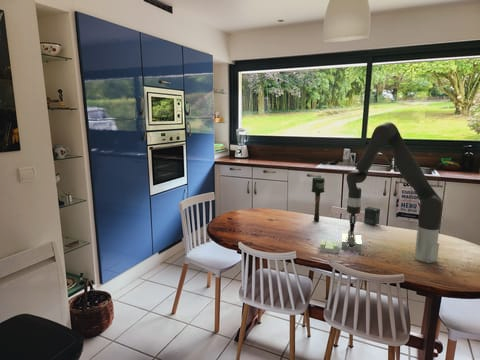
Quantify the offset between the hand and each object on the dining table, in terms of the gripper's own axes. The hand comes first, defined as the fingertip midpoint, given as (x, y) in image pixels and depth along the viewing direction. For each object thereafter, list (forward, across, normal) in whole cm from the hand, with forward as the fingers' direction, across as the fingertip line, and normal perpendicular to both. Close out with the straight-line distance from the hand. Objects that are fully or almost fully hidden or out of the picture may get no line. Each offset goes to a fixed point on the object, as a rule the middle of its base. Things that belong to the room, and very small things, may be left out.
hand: (351, 232), depth 191 cm
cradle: (+3, +22, -11) cm, 25 cm away
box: (+3, -29, +12) cm, 32 cm away
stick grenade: (+4, -22, -23) cm, 32 cm away
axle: (+1, +11, 0) cm, 11 cm away
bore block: (+3, +13, 0) cm, 13 cm away
